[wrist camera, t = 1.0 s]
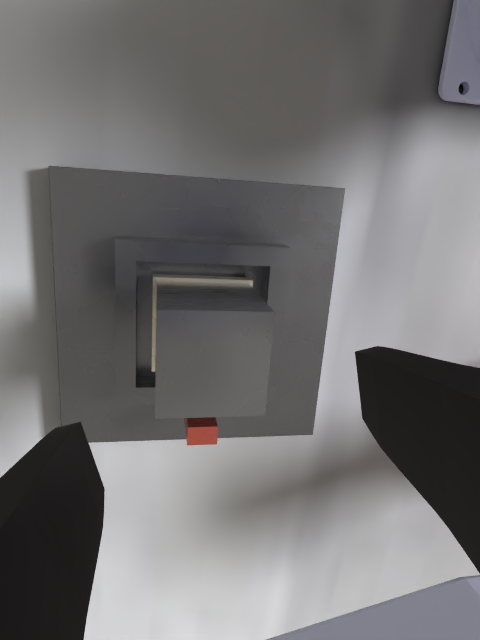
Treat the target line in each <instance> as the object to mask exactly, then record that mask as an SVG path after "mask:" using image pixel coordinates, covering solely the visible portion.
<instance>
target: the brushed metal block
mask: <svg viewBox="0 0 480 640" xmlns="http://www.w3.org/2000/svg"><path fill="white" fill-rule="evenodd" d="M252 286H253V280H252V279H251V278H250V277H222V276H193V275H164V274H153V309H152V372H155V419H164V418H202V417H241V416H265V410H266V399H267V389H268V378H269V368H270V358H271V347H272V337H273V326H274V316H275V312H274V311H273V309H272V308H271V307H270V306H269V305H268V304H267V303H266V302H265V301H264V300H263V298H262V297H261V296H260V295H259V294H258V293H257V292H256V291H255V290H254V289H253V287H252Z"/></svg>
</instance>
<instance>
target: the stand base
mask: <svg viewBox="0 0 480 640" xmlns="http://www.w3.org/2000/svg"><path fill="white" fill-rule="evenodd" d="M49 182H50V203H51V223H52V244H53V264H54V284H55V305H56V325H57V346H58V366H59V386H60V407H61V427H62V426H65V425H69V424H73V423H77V422H81V424H82V426H83V429H84V432H85V435H86V438H87V441H88V442H117V441H145V440H174V439H186V440H187V445H207V444H217V438H232V437H260V436H289V435H313V428H314V420H315V413H316V405H317V397H318V390H319V382H320V374H321V367H322V359H323V352H324V344H325V336H326V329H327V321H328V313H329V306H330V298H331V291H332V283H333V275H334V268H335V260H336V252H337V245H338V237H339V230H340V222H341V214H342V207H343V199H344V192H345V188H332V187H319V186H306V185H293V184H280V183H267V182H254V181H240V180H227V179H214V178H201V177H188V176H175V175H162V174H149V173H135V172H122V171H109V170H96V169H83V168H70V167H57V166H49ZM153 274H164V275H193V276H222V277H250V278H251V279H252V280H253V286H252V287H253V289H254V290H255V291H256V292H257V293H258V294H259V295H260V296H261V297H262V298H263V300H264V301H265V302H266V303H267V304H268V305H269V306H270V307H271V308H272V309H273V311H274V312H275V316H274V326H273V337H272V347H271V358H270V368H269V378H268V389H267V399H266V410H265V416H241V417H202V418H164V419H155V372H152V309H153Z"/></svg>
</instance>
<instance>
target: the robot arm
mask: <svg viewBox="0 0 480 640" xmlns="http://www.w3.org/2000/svg"><path fill="white" fill-rule="evenodd" d="M460 84H462V85H463V88H464V91H463V93H462V94H460V93H459V90H458V87H459V85H460ZM438 93H439V96H440V97H441V98H442V99H443V100H445V101H451V102H459V103H467V104H475V105H480V0H454V2H453V8H452V13H451V19H450V25H449V30H448V36H447V41H446V47H445V53H444V58H443V64H442V70H441V75H440V81H439V87H438ZM355 356H356V365H357V373H358V382H359V391H360V400H361V409H362V418H363V420H364V422H365V423H366V425H367V427H368V428H369V430H370V432H371V433H372V435H373V436H374V438H375V439H376V441H377V443H378V444H379V446H380V447H381V448H382V450H383V451H384V452H385V453H386V454H387V456H388V457H389V458H390V459H391V460H392V462H393V463H394V464H395V465H396V466H397V467H398V469H399V470H400V471H401V472H402V473H403V474H404V476H405V477H406V478H407V479H408V480H409V481H410V483H411V484H412V485H413V486H414V487H415V488H416V490H417V491H418V492H419V493H420V494H421V495H422V496H423V498H424V499H425V500H426V501H427V502H428V503H429V505H430V506H431V507H432V508H433V509H434V510H435V512H436V513H437V514H438V515H439V517H440V518H441V519H442V520H443V522H444V523H445V524H446V525H447V527H448V528H449V529H450V531H451V532H452V534H453V535H454V537H455V538H456V540H457V541H458V542H459V544H460V545H461V547H462V548H463V550H464V551H465V552H466V554H467V555H468V557H469V558H470V560H471V561H472V562H473V564H474V565H475V567H476V568H477V570H478V572H479V573H480V368H476V367H471V366H465V365H460V364H456V363H451V362H447V361H443V360H438V359H434V358H430V357H426V356H422V355H418V354H414V353H410V352H405V351H401V350H397V349H392V348H387V347H379V346H376V347H372V348H368V349H364V350H360V351H356V352H355ZM103 517H104V486H103V483H102V481H101V478H100V475H99V472H98V469H97V466H96V464H95V461H94V458H93V455H92V452H91V449H90V446H89V444H88V441H87V438H86V435H85V432H84V429H83V426H82V424H81V422H77V423H73V424H69V425H65V426H62V427H58V428H55V429H54V430H52V431H51V432H50V433H48V434H47V435H46V436H45V437H44V438H43V439H42V440H40V441H39V442H38V443H37V444H36V445H35V446H34V447H33V448H32V449H31V450H30V451H29V452H28V453H27V454H25V455H24V456H23V457H22V458H21V459H20V460H19V461H18V462H17V463H16V464H15V465H14V466H13V467H12V468H11V469H9V470H8V471H7V472H6V473H5V474H4V475H3V476H2V477H1V478H0V640H83V639H84V632H85V624H86V617H87V612H88V606H89V601H90V596H91V590H92V585H93V579H94V574H95V569H96V563H97V558H98V552H99V547H100V541H101V535H102V529H103ZM267 640H480V575H478V576H468V577H459V578H456V579H453V580H450V581H447V582H444V583H441V584H437V585H434V586H431V587H428V588H425V589H422V590H419V591H416V592H413V593H410V594H406V595H403V596H400V597H397V598H394V599H391V600H388V601H385V602H382V603H379V604H375V605H372V606H369V607H366V608H363V609H360V610H357V611H354V612H351V613H348V614H344V615H341V616H338V617H335V618H332V619H329V620H326V621H323V622H320V623H317V624H313V625H310V626H307V627H304V628H301V629H298V630H295V631H292V632H289V633H286V634H282V635H279V636H276V637H273V638H270V639H267Z"/></svg>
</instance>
